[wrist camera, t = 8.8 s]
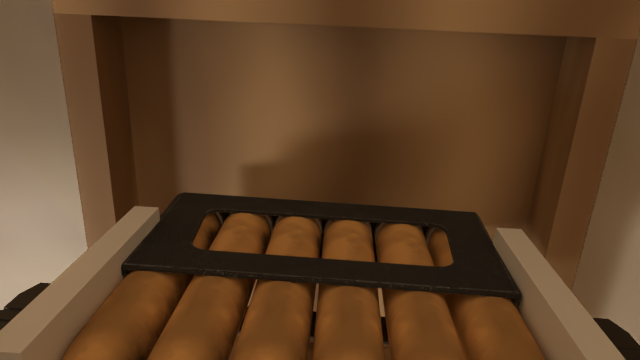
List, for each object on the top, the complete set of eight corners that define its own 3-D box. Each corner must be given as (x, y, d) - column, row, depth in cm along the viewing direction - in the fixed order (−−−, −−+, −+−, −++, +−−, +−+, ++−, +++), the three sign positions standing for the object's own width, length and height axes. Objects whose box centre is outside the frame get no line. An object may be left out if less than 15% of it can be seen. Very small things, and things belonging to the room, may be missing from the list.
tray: (137, 336, 23) (107, 383, 20) (96, -22, 17) (47, -29, 14) (513, 363, 22) (538, 415, 19) (597, -1, 16) (648, -4, 14)
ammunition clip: (180, 238, 17) (-128, 658, 6) (177, 192, 17) (-171, 565, 5) (469, 258, 17) (712, 745, 6) (478, 212, 16) (769, 656, 5)
